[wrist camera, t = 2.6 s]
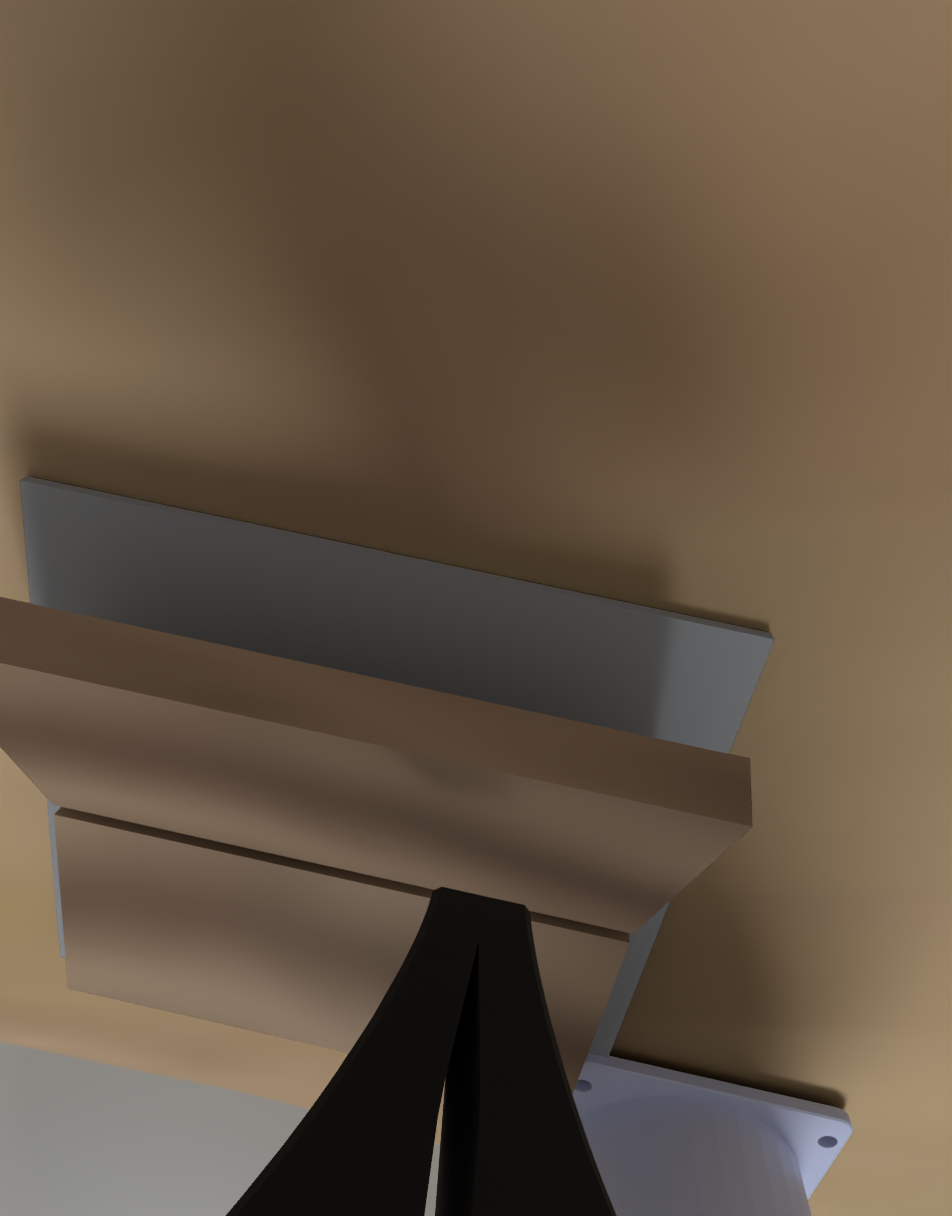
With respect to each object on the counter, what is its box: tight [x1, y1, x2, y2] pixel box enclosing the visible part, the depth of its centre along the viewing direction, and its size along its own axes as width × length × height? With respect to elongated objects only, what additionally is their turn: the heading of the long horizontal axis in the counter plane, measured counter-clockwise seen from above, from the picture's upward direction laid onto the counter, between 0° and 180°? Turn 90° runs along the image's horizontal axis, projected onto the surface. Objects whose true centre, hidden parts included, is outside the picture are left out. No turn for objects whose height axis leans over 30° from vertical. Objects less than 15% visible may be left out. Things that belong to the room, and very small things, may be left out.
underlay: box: [20, 477, 775, 1057], centre depth 19 cm, size 14×16×1 cm
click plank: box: [0, 597, 752, 934], centre depth 15 cm, size 7×14×1 cm, turn 80°
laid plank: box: [54, 807, 630, 1094], centre depth 20 cm, size 6×14×1 cm, turn 80°
